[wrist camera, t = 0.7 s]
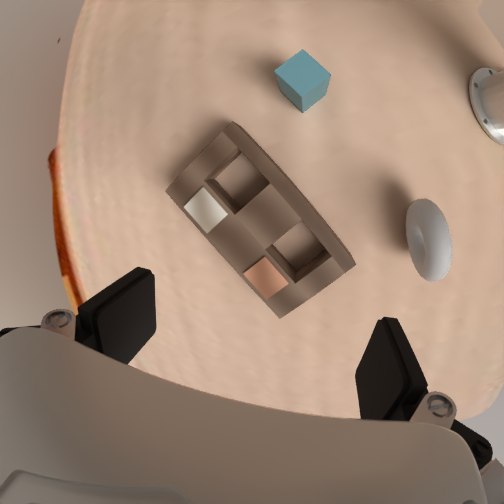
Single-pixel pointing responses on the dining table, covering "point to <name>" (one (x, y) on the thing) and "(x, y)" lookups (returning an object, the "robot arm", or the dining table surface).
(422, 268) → the donut
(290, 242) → the dining table surface
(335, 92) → the dining table surface
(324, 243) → the socket block
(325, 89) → the plug
